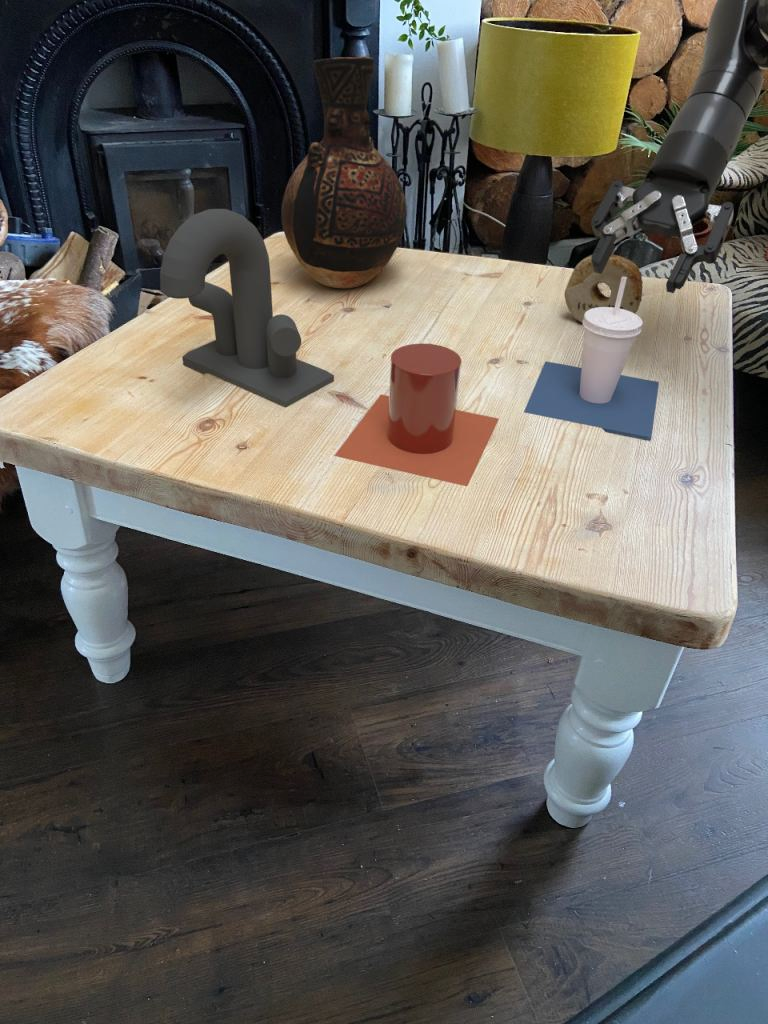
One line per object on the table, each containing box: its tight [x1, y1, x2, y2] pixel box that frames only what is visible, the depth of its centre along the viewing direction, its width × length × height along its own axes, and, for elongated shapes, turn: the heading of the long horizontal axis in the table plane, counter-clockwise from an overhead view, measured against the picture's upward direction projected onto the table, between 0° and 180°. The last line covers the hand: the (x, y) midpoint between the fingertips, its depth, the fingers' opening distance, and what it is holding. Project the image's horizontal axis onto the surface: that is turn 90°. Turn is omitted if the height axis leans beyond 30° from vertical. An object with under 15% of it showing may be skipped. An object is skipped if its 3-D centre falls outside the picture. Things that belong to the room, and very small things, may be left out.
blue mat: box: [523, 360, 660, 441], centre depth 88 cm, size 14×14×1 cm
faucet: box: [159, 208, 335, 409], centre depth 81 cm, size 18×16×20 cm
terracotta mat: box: [333, 393, 500, 487], centre depth 79 cm, size 14×14×1 cm
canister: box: [388, 343, 462, 454], centre depth 76 cm, size 7×7×9 cm
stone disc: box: [564, 253, 644, 324], centre depth 102 cm, size 10×4×10 cm, turn 54°
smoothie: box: [579, 277, 644, 404], centre depth 83 cm, size 6×6×14 cm
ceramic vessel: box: [280, 56, 408, 289], centre depth 107 cm, size 21×18×30 cm
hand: (632, 279), depth 83 cm, fingers open, 8 cm apart
